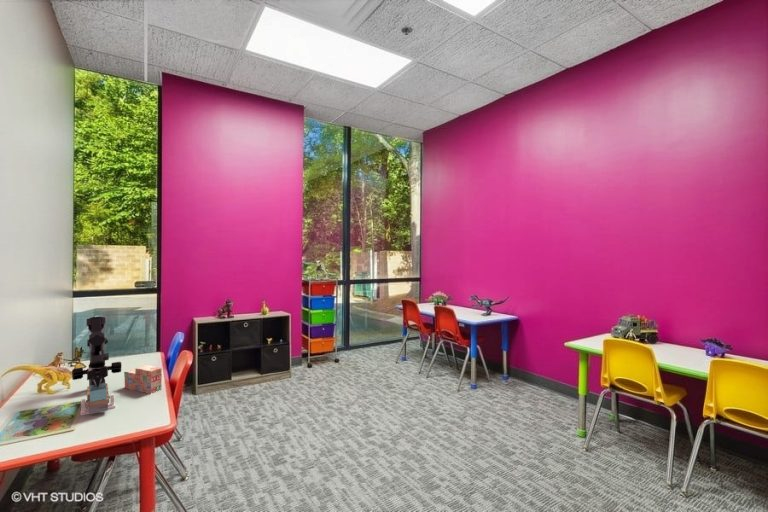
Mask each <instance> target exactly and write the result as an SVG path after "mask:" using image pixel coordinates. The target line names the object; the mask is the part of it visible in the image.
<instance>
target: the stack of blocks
mask: <svg viewBox="0 0 768 512" xmlns="http://www.w3.org/2000/svg"><path fill="white" fill-rule="evenodd" d="M162 371H163V369H162V367H158V366H154V365H150V364H149V365H148V364H144V365H142V366H139V367H136V368H131V369H129V370H125V371H124V372H123V373H124V376H123V377H124V388H125V389H128V388H129V389H128V390H132V389H134V390H133V391H136V390H138V391H137V392H141V391H143V392H142V393H145V392H147V393H146V394H149V393H150V395H151V393H152V394H154V393H156V391H157V392H158V391H159V390H160V391H162V386H163V385H162V375H163V374H162ZM160 391H159V392H160Z"/></svg>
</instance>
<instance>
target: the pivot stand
mask: <svg viewBox="0 0 768 512" xmlns="http://www.w3.org/2000/svg"><path fill="white" fill-rule="evenodd" d="M114 395H115V393H110V394H109V396H110V402H109V403H108V410H112V409H116V403H115V401H114V400H115V396H114ZM83 415H90V414H89V407H88V408H87V407H86V399H85V398H83V399H81V409H80V416H83Z"/></svg>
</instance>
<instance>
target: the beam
mask: <svg viewBox="0 0 768 512" xmlns="http://www.w3.org/2000/svg"><path fill="white" fill-rule="evenodd" d="M105 383H106V382H105ZM106 393H107V399H105V400H100V401H95V402H90V386H89V385H88V386H87V387H86V394H87V395H86V398H87V399H85V404H86V408H89V414H88V415H93V414H98V413H102V412H107V411H109V409H108V404H110V400H111V398H110V394H109V388H108V383H106Z"/></svg>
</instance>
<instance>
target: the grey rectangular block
mask: <svg viewBox="0 0 768 512" xmlns="http://www.w3.org/2000/svg"><path fill="white" fill-rule="evenodd" d="M105 399H107V393H106V382H105V383H102V384H100V385H99V386H96V385H91V386H90V402H95V401H100V400H105Z"/></svg>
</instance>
